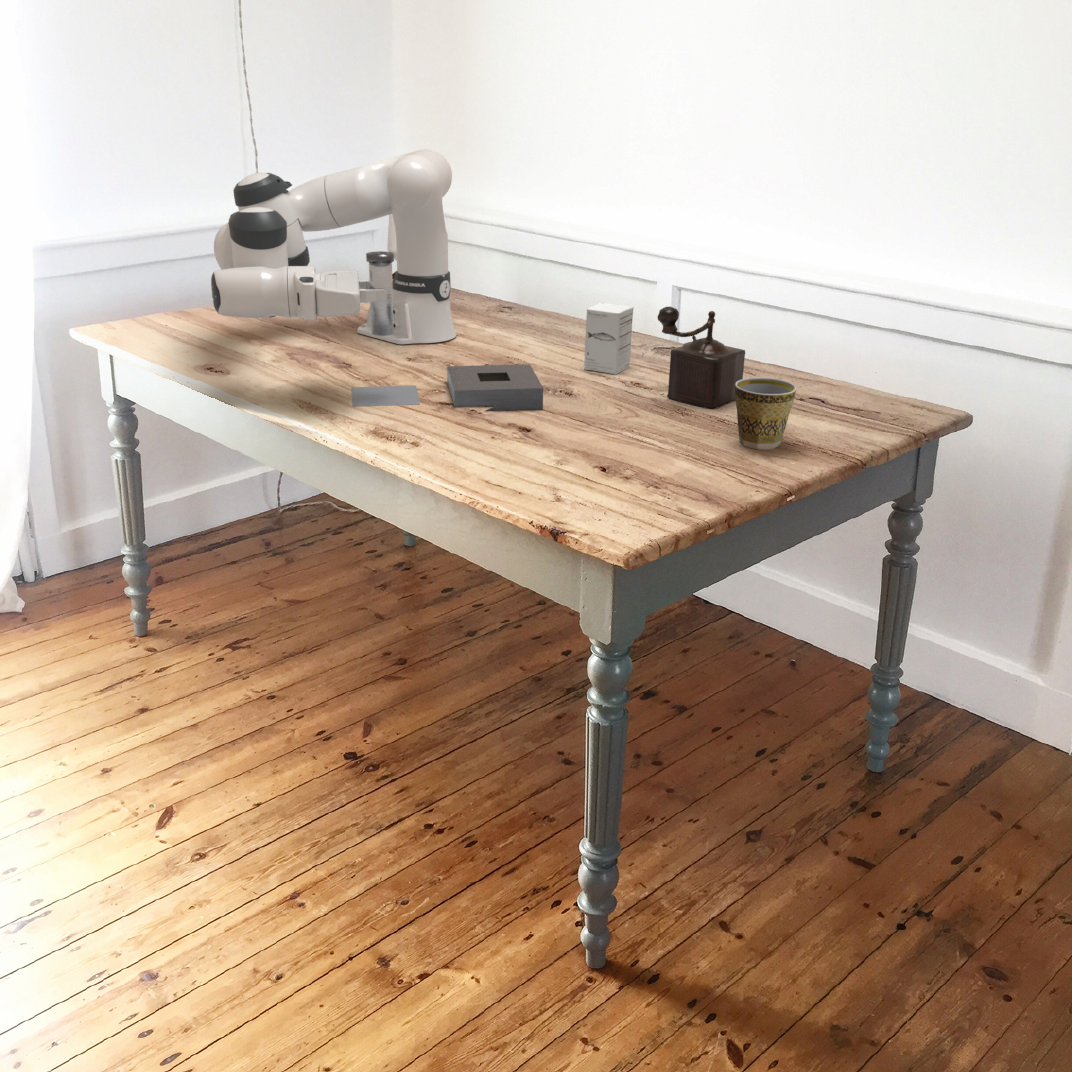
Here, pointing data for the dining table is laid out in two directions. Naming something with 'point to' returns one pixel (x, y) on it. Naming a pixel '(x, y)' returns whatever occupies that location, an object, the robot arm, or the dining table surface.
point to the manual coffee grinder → (701, 365)
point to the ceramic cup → (763, 411)
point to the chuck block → (495, 387)
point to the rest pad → (384, 396)
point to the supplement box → (608, 338)
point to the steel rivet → (381, 279)
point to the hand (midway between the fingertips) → (386, 290)
